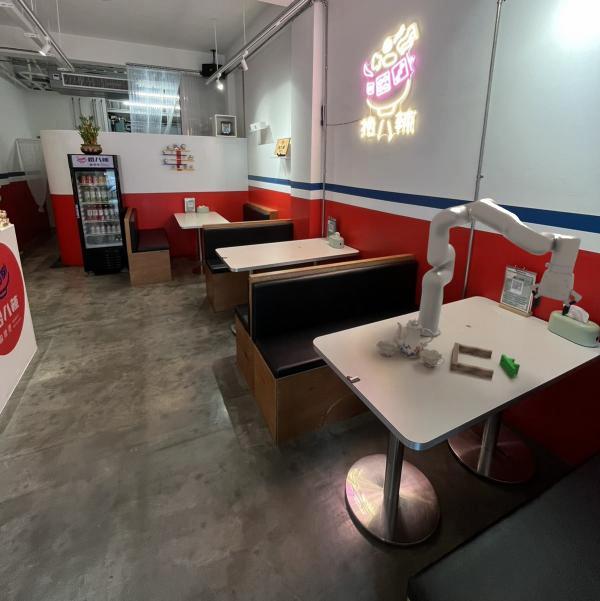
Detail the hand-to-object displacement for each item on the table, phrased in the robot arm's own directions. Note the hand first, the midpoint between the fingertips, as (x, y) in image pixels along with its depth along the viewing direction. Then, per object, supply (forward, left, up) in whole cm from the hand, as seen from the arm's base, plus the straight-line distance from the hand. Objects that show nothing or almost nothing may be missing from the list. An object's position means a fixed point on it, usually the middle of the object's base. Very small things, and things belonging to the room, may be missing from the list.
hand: (549, 311), depth 143 cm
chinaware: (-48, -16, -25) cm, 57 cm away
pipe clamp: (-10, -10, -25) cm, 28 cm away
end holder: (-24, -10, -24) cm, 36 cm away
